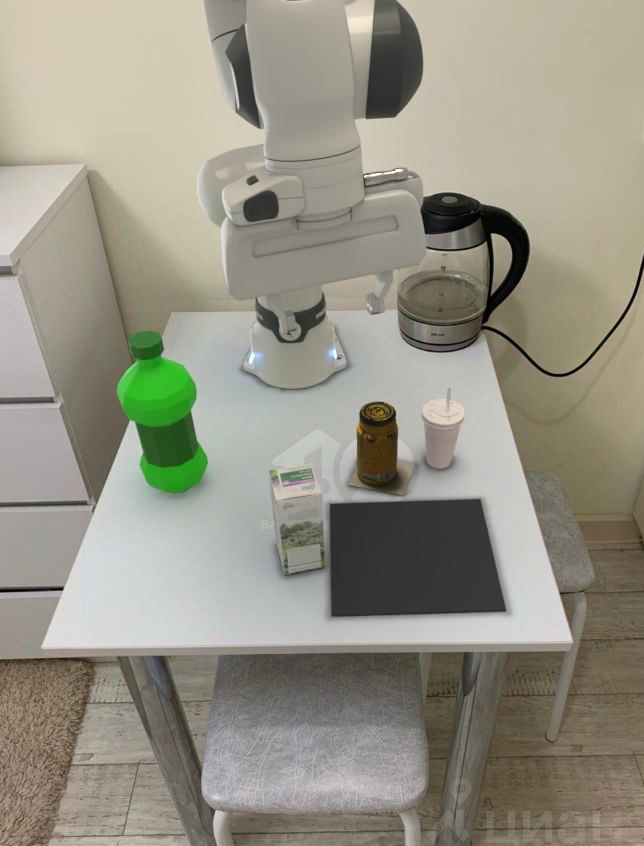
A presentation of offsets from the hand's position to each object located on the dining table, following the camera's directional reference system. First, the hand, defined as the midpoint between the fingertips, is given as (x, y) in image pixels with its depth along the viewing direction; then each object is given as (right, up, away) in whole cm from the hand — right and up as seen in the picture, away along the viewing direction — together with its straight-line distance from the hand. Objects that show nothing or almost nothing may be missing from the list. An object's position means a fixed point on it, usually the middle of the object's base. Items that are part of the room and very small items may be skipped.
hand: (332, 321), depth 75 cm
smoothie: (+16, -14, +37) cm, 43 cm away
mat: (+10, -27, +23) cm, 37 cm away
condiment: (+7, -16, +35) cm, 39 cm away
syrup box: (-5, -27, +23) cm, 36 cm away
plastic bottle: (-24, -17, +35) cm, 46 cm away
